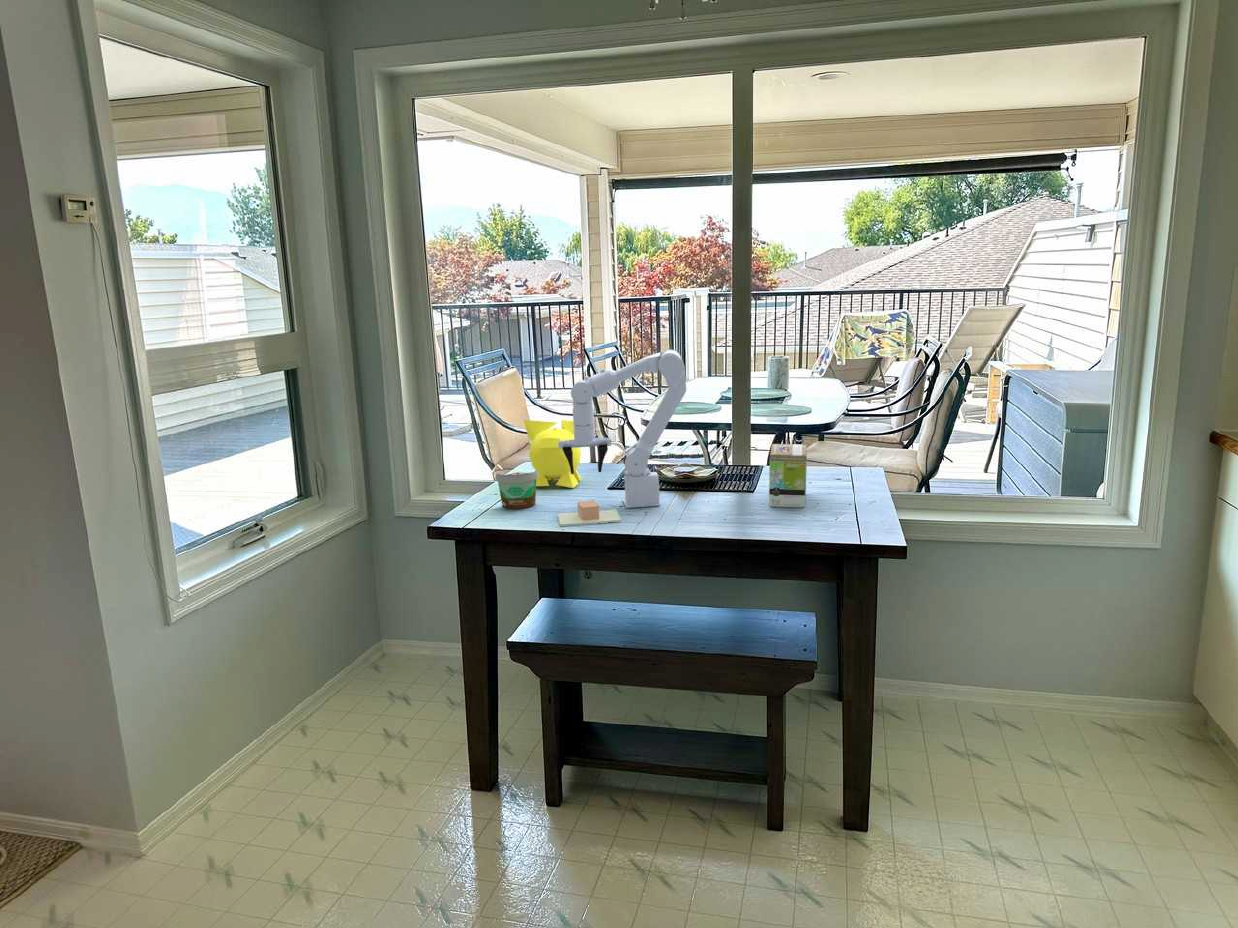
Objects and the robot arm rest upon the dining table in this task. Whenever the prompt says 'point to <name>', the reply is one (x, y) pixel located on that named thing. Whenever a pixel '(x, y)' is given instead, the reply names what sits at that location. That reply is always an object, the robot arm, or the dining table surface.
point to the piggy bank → (552, 452)
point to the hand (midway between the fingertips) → (586, 472)
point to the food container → (517, 490)
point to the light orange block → (588, 510)
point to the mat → (575, 519)
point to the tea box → (787, 475)
